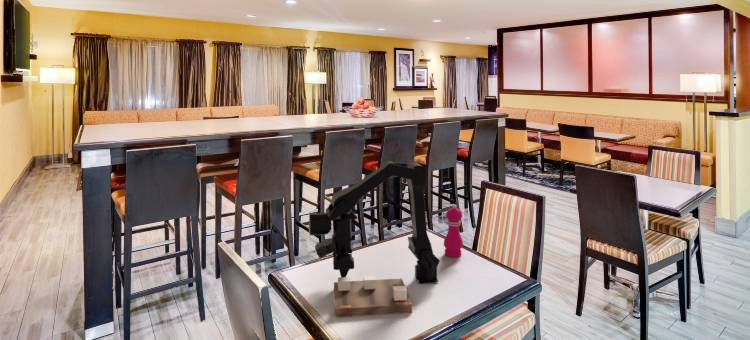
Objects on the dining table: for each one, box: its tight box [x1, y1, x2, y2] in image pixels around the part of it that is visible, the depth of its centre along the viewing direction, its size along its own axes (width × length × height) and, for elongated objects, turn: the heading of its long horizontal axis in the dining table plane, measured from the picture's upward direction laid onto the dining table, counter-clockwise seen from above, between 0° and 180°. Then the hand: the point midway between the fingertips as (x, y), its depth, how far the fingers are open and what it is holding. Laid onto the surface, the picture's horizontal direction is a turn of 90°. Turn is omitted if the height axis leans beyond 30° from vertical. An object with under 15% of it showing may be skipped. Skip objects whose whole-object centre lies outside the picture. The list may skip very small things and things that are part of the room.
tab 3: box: [393, 285, 408, 301], centre depth 128 cm, size 4×3×3 cm
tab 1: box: [337, 276, 351, 291], centre depth 134 cm, size 4×3×3 cm
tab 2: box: [363, 275, 377, 289], centre depth 135 cm, size 4×3×3 cm
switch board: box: [333, 278, 413, 318], centre depth 133 cm, size 22×17×3 cm
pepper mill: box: [443, 203, 464, 259], centre depth 166 cm, size 7×7×20 cm
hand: (343, 278), depth 140 cm, fingers closed
